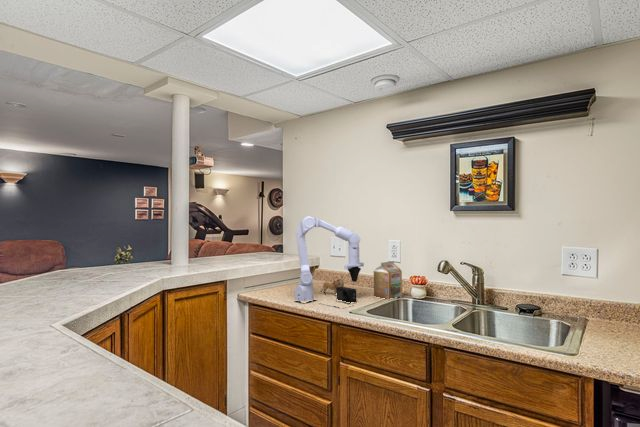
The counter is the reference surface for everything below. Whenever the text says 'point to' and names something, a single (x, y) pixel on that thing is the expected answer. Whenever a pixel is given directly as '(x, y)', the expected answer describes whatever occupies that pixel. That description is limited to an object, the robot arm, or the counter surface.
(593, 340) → the counter surface
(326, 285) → the lion figurine
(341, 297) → the digital camera
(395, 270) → the milk carton
